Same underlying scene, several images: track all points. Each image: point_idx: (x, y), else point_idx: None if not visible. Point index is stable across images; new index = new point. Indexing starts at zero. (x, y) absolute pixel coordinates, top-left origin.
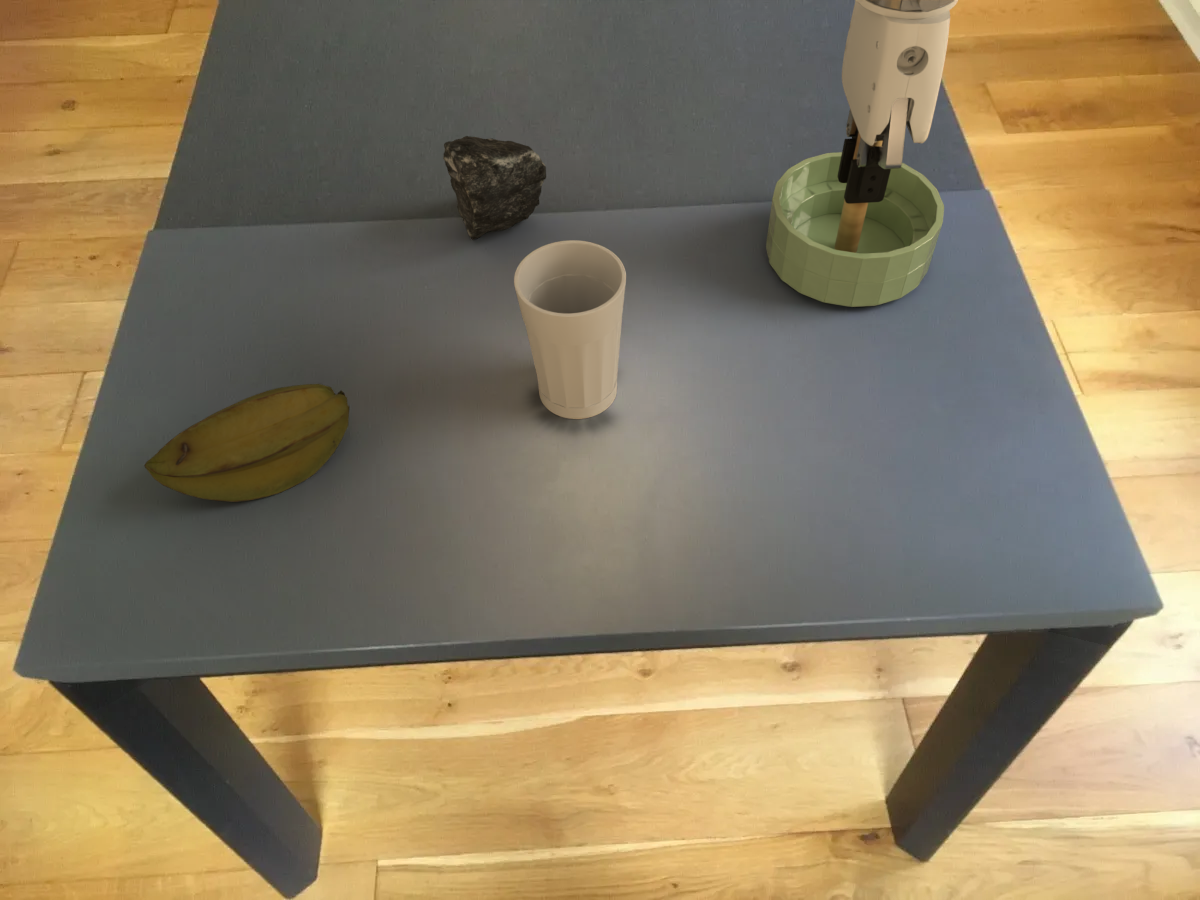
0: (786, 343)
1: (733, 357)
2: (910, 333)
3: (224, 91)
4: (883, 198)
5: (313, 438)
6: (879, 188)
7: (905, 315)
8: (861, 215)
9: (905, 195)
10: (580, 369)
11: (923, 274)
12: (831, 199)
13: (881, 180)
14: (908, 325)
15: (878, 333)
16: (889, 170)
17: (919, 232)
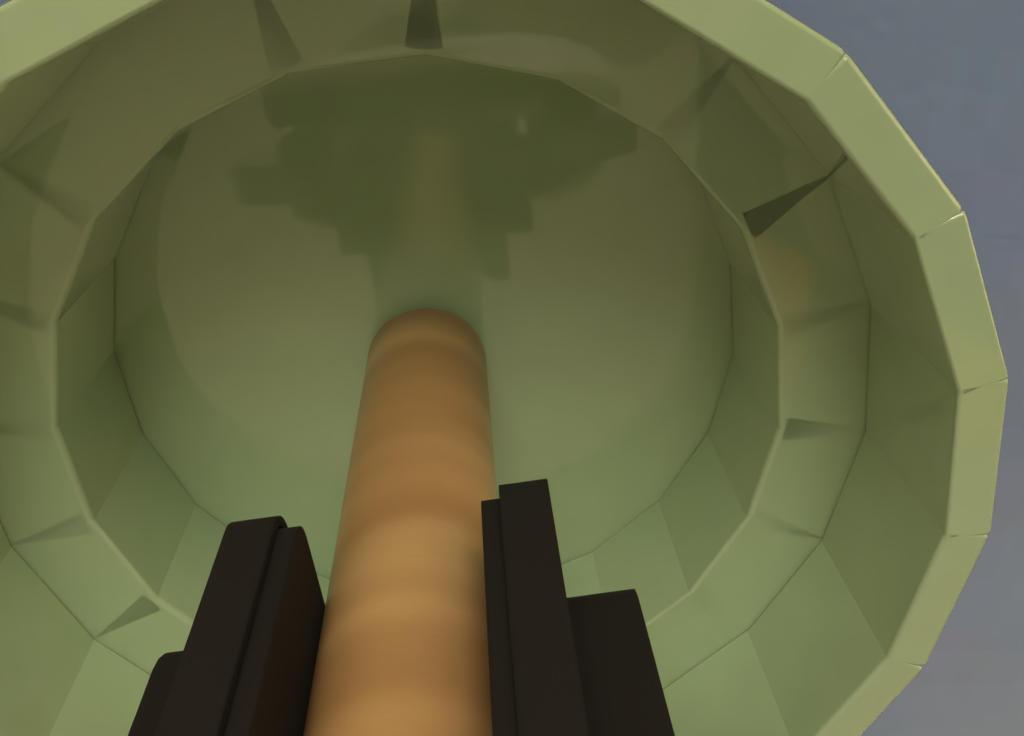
0: (972, 569)
1: (1009, 720)
2: (1007, 57)
3: None
4: (544, 481)
5: None
6: (647, 642)
7: (875, 69)
8: (484, 475)
9: (55, 87)
10: None
11: None
12: (110, 475)
13: (662, 705)
14: (949, 61)
15: (979, 215)
16: (578, 689)
17: (449, 18)
